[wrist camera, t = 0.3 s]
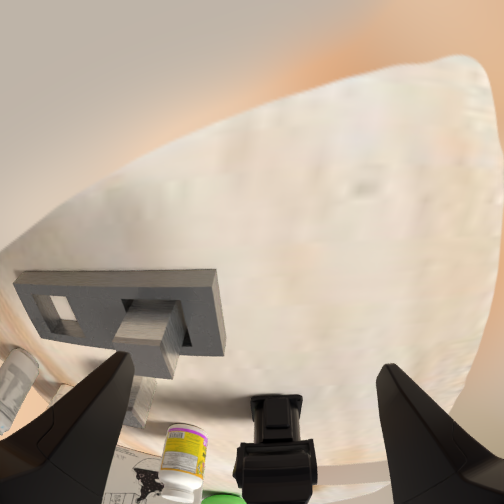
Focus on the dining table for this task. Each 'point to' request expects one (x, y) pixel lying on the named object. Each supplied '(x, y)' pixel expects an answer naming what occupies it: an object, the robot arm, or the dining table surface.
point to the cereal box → (137, 480)
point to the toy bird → (223, 500)
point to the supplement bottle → (183, 462)
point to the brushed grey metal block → (140, 401)
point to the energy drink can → (15, 384)
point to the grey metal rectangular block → (152, 336)
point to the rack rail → (123, 304)
